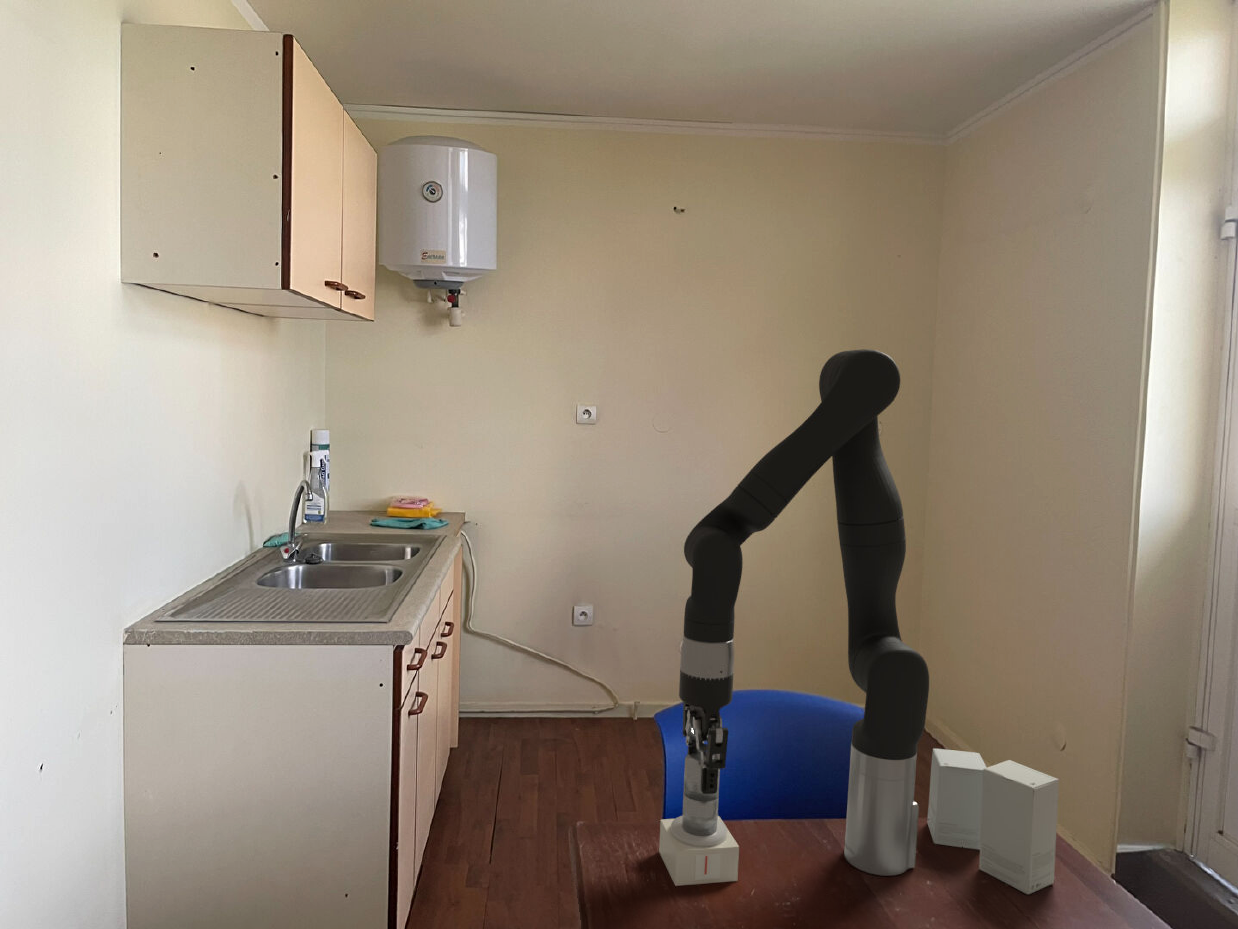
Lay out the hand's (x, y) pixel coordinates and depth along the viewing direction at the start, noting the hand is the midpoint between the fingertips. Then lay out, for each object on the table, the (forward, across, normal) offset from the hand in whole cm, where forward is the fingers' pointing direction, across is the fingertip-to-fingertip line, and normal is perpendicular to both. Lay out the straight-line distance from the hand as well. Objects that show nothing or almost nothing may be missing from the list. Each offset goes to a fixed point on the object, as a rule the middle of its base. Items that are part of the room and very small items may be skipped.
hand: (701, 781), depth 127 cm
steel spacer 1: (+2, 0, 0) cm, 2 cm away
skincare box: (+13, -9, -45) cm, 48 cm away
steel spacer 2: (+7, 0, 0) cm, 7 cm away
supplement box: (+13, +3, -43) cm, 45 cm away
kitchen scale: (+13, 0, 0) cm, 13 cm away
